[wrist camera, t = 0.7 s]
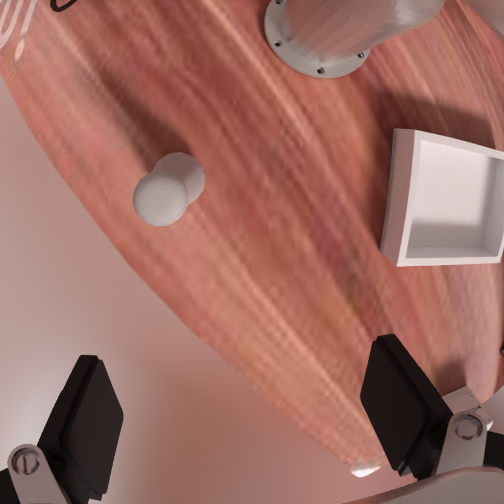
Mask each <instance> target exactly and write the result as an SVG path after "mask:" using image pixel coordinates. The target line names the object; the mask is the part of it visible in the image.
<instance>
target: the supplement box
mask: <svg viewBox="0 0 504 504" xmlns="http://www.w3.org/2000/svg"><path fill="white" fill-rule="evenodd" d="M442 398H443V400H444V401H445V402H446V404H447V405H448V407H449V408H450V410H451V411H452V412H453V414H456V413H458V412H460V411H472V412H474V413H477V414H478V415H480V416H481V417H482V418H483V419H484V420H485V423H486V425H487V431H488V430H489V428H490V427H491V425H492V423H493V420H492V419H491V417H490V416H489V415H488V413H487V412H486V410H485V409H484V408H483V406H482V405H481V403H480V402H479V401H478V399H477V398H476V397H475V395H474V394H473V393H472V391H471V390H470V389H469V387H468V386H467V385H466V386H464V387H462V388H460V389H458V390H456V391H453V392H451V393H449V394H446V395H443V396H442Z"/></svg>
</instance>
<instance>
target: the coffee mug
mask: <svg viewBox="0 0 504 504" xmlns="http://www.w3.org/2000/svg"><path fill="white" fill-rule="evenodd" d="M76 1H77V0H71V1H69V2H68V3H67V4H66V5H64V6H62V7H60V8H58V7H57V4H56V0H51V1H50V6H51V8H52V10H53V11H55V12H61V11H63V10H65V9H67V8H68V7H70V6H71V5H73V4H74V3H75V2H76Z"/></svg>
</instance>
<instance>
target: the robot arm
mask: <svg viewBox="0 0 504 504" xmlns="http://www.w3.org/2000/svg"><path fill="white" fill-rule="evenodd" d="M461 1H462V2H463V3H464V4H465V5H466V6H467V7H469V8H470V9H471V10H473V11H474V12H475V13H476V14H477V15H478V16H479V17H480V18H481V19H482V20H483V21H484V22H485V23H486V25H487V26H488V27H489V28H490V29H491V30H492V31H493V32H494V33H495V34H496V36H497V37H498V38H499V39H500V40H501V41H502V43H503V44H504V0H461ZM277 2H278V3H280V5H279V4H276V3H277ZM444 2H445V0H271V2H270V3H269V5H268V7H267V9H266V13H265V16H264V32H265V37H266V39H267V42H268V44H269V46H270V48H271V49H272V51H273V52H274V54H275V55H276V56H277V57H278V58H279V59H280V60H281V61H282V62H283V63H284V64H286V65H287V66H288V67H290V68H291V69H293V70H295V71H297V72H299V73H301V74H304V75H306V76H309V77H314V78H320V79H331V78H336V77H341V76H344V75H347V74H349V73H351V72H353V71H354V70H356V69H357V68H358V67H359V66H361V65H362V64H363V62H364V61H365V60H366V58H367V57H368V54H369V52H370V50H371V48H372V47H374V46H376V45H379V44H381V43H383V42H385V41H388V40H390V39H392V38H394V37H397V36H399V35H402V34H404V33H406V32H409V31H411V30H414V29H416V28H418V27H421V26H423V25H425V24H426V23H428V22H430V21H431V20H432V19H433V18H435V17H436V16H437V14H438V13H439V12H440V10H441V8H442V7H443V5H444ZM276 43H277V44H279V47H277V46H275V44H276ZM357 54H358V55H359V56H360V57H358V55H357ZM317 70H320V72H321V73H320V74H319V73H318V72H317ZM360 399H361V403H362V405H363V407H364V409H365V411H366V413H367V415H368V417H369V420H370V422H371V424H372V426H373V428H374V430H375V432H376V434H377V437H378V439H379V441H380V443H381V445H382V447H383V450H384V452H385V454H386V456H387V458H388V461H389V463H390V465H391V467H392V469H393V470H395V471H398V473H399V475H400V477H401V476H404V475H407V474H410V473H412V474H413V476H414V478H415V480H414V483H412V484H409V485H406V486H403V487H400V488H397V489H394V490H390V491H388V492H384V493H380V494H377V495H374V496H370V497H367V498H363V499H360V500H356V501H352V502H347V503H343V504H504V435H502V434H499V433H494V432H491V431H487V425H486V423H485V420H484V419H483V418H482V417H481V416H480V415H478V414H477V413H474V412H472V411H460V412H458V413H456V414H453V412H452V411H451V410H450V408H449V407H448V405H447V404H446V402H445V401H444V400H443V398H442V397H441V395H440V394H439V393H438V391H437V390H436V388H435V387H434V386H433V384H432V383H431V381H430V380H429V379H428V377H427V376H426V375H425V373H424V372H423V371H422V369H421V368H420V367H419V366H418V364H417V363H416V362H415V360H414V359H413V358H412V356H411V355H410V354H409V352H408V351H407V350H406V348H405V347H404V346H403V345H402V343H401V342H400V341H399V339H398V338H397V337H396V335H395V334H387V335H381V336H378V337H377V339H376V341H373V343H372V347H371V351H370V356H369V360H368V365H367V369H366V373H365V377H364V381H363V385H362V389H361V393H360ZM122 423H123V411H122V408H121V406H120V403H119V401H118V399H117V396H116V394H115V392H114V389H113V387H112V384H111V381H110V379H109V376H108V374H107V371H106V368H105V366H104V363H103V361H102V360H99V359H98V357H97V356H95V355H81V356H80V357H79V359H78V360H77V362H76V364H75V366H74V368H73V370H72V372H71V374H70V376H69V378H68V380H67V382H66V384H65V386H64V388H63V390H62V391H61V393H60V395H59V397H58V399H57V401H56V403H55V405H54V408H53V409H52V412H51V414H50V416H49V418H48V421H47V423H46V425H45V427H44V430H43V432H42V434H41V437H40V439H39V441H38V444H37V446H35V445H32V444H24V445H20V446H18V447H16V448H15V449H14V450H13V451H12V452H11V453H10V455H9V458H8V462H7V463H8V468H6V469H4V470H2V471H0V504H88V501H89V499H94V500H99V501H101V498H102V494H105V493H106V492H107V489H108V484H109V479H110V474H111V469H112V465H113V461H114V456H115V452H116V448H117V443H118V439H119V435H120V431H121V427H122Z"/></svg>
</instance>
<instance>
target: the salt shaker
mask: <svg viewBox="0 0 504 504" xmlns="http://www.w3.org/2000/svg"><path fill="white" fill-rule="evenodd" d="M204 183H205V175H204V171H203V168H202V165H201V164H200V163H199V162H198V161H197V160H196V159H195V158H194V157H193V156H190V155H188V154H185V153H182V152H178V153H170V154H167V155H166V156H164V157H163V158H161V159H160V160H158V161H157V163H156V165H155V166H154V168H153V170H152V172H150V173H149V174H147V175H146V176H144V177H143V178H141V179H140V181H139V183H138V184H137V186H136V188H135V190H134V196H133V205H134V207H135V210H136V212H137V214H138V215H139V216H140V217H141V218H142V219H143V220H144V221H145V222H146V223H148V224H151V225H154V226H165V225H170V224H171V223H173V222H174V221H176V220H177V219H179V218H180V217H181V216H182V214H183V213H184V211H185V210H186V208H187V205H189V204H190V203H192V202H193V201H195V200H196V199H197V198H198V197H199V195H200V194H201V192H202V191H203V190H204Z"/></svg>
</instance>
